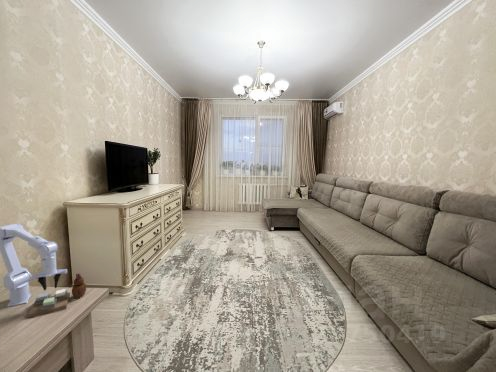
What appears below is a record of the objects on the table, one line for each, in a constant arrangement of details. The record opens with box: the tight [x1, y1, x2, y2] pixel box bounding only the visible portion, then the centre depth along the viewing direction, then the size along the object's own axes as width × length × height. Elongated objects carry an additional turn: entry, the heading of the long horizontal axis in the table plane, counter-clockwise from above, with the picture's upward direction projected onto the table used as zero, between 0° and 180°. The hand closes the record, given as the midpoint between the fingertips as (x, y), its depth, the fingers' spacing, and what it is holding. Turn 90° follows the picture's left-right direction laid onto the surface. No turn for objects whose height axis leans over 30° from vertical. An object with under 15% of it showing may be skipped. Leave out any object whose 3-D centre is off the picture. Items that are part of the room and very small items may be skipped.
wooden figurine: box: [71, 273, 87, 299], centre depth 130 cm, size 7×6×15 cm
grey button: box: [36, 292, 50, 301], centre depth 122 cm, size 4×4×2 cm
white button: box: [54, 288, 67, 297], centre depth 126 cm, size 4×4×2 cm
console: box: [27, 289, 71, 319], centre depth 121 cm, size 14×15×4 cm
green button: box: [43, 297, 55, 306], centre depth 118 cm, size 4×4×2 cm
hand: (50, 288), depth 122 cm, fingers open, 4 cm apart
